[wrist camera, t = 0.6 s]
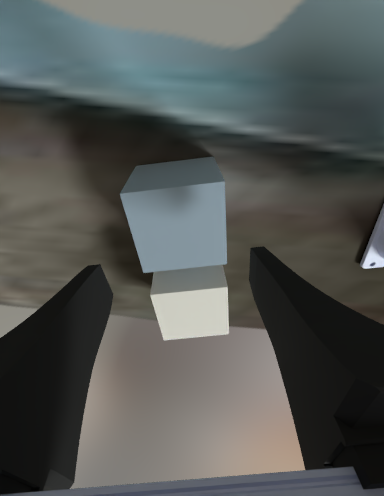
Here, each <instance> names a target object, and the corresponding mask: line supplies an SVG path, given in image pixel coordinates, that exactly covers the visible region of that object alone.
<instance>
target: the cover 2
mask: <svg viewBox="0 0 384 496" xmlns="http://www.w3.org/2000/svg"><path fill="white" fill-rule="evenodd" d="M150 296H151V299H152V302H153V306H154V309H155V312H156V316H157V319H158V322H159V326H160V329H161V332H162V336H163V339H164V340H172V339H183V338H192V337H204V336H214V335H224V334H229V321H228V287H227V282H226V278H225V274H224V269H223V265H213V266H204V267H195V268H185V269H176V270H166V271H157V272H154V274H153V280H152V287H151V293H150Z"/></svg>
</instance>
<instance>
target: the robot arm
mask: <svg viewBox="0 0 384 496" xmlns="http://www.w3.org/2000/svg"><path fill="white" fill-rule="evenodd" d="M360 266H361V267H362V268H364V269H366V268H376V267H384V205H383V207H382V210H381V212H380V215H379V217H378V220H377V222H376V225H375V227H374V230H373V232H372V235H371V237H370V240H369V242H368V245H367V247H366V250H365V252H364V255H363V258H362V260H361V263H360ZM249 281H250V285H251V289H252V293H253V297H254V300H255V302H256V305H257V307H258V310H259V312H260V315H261V317H262V320H263V322H264V325H265V327H266V330H267V332H268V335H269V337H270V340H271V342H272V345H273V348H274V351H275V354H276V357H277V361H278V364H279V368H280V371H281V375H282V379H283V382H284V386H285V389H286V393H287V397H288V401H289V404H290V408H291V412H292V416H293V419H294V424H295V428H296V432H297V436H298V440H299V444H300V448H301V453H302V457H303V461H304V466H305V470H303V471H291V472H278V473H265V474H253V475H241V476H229V477H228V476H227V477H215V478H202V479H190V480H177V481H166V482H152V483H140V484H127V485H114V486H102V487H89V488H77V489H70V487H71V486H72V484H73V483H74V479H75V470H76V462H77V454H78V447H79V439H80V433H81V426H82V420H83V414H84V409H85V403H86V398H87V393H88V388H89V383H90V379H91V374H92V369H93V365H94V362H95V358H96V355H97V352H98V349H99V345H100V343H101V340H102V337H103V334H104V330H105V327H106V324H107V321H108V318H109V315H110V310H111V305H112V299H113V293H112V291H111V288H110V286H109V284H108V281H107V279H106V277H105V274H104V272H103V270H102V267H101V265H100V264H99V265H90V266H87V267H86V268H84V269H83V270H82V271H81V272H80V273H79V274H78V275H76V276H75V277H74V278H73V279H72V280H71V281H70V282H69V283H68V284H67V285H66V286H64V287H63V288H62V289H61V290H60V291H59V292H58V293H57V294H56V295H55V296H53V297H52V298H51V299H50V300H49V301H48V302H46V303H45V304H44V305H43V306H42V307H41V308H39V309H38V310H37V311H36V312H35V313H34V314H32V315H31V316H30V317H28V318H27V319H26V320H25V321H23V322H22V323H21V324H19V325H18V326H17V327H15V328H14V329H13V330H11V331H10V332H8V333H7V334H6V335H4V336H3V337H1V338H0V496H384V325H383V324H380V323H378V322H376V321H374V320H372V319H370V318H368V317H366V316H364V315H362V314H360V313H358V312H356V311H354V310H352V309H350V308H349V307H347V306H345V305H343V304H341V303H340V302H338V301H336V300H334V299H333V298H331V297H330V296H328V295H326V294H325V293H323V292H321V291H320V290H318V289H317V288H315V287H314V286H312V285H311V284H310V283H308V282H307V281H305V280H304V279H303V278H301V277H300V276H299V275H297V274H296V273H295V272H293V271H292V270H291V269H290V268H288V267H287V266H286V265H285V264H284V263H282V262H281V261H280V260H279V259H278V258H277V257H275V256H274V255H273V254H272V253H271V252H270V251H268V250H267V249H266V248H265V247H255V248H251V252H250V273H249Z"/></svg>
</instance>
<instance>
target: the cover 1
mask: <svg viewBox="0 0 384 496" xmlns="http://www.w3.org/2000/svg"><path fill="white" fill-rule="evenodd" d="M120 196H121V200H122V203H123V206H124V210H125V213H126V216H127V220H128V223H129V226H130V230H131V233H132V236H133V240H134V243H135V246H136V249H137V253H138V256H139V259H140V263H141V266H142V269H143V273H148V272H157V271H166V270H176V269H185V268H195V267H204V266H213V265H223V264H227V246H226V209H225V181H224V179H223V176H222V174H221V172H220V170H219V168H218V165H217V163H216V161H215V159H214V157H205V158H196V159H188V160H180V161H172V162H163V163H155V164H147V165H139V166H136V167H135V168H134V170H133V172H132V174H131V175H130V177H129V179H128V180H127V182H126V184H125V186H124V187H123V189H122V191H121V192H120Z"/></svg>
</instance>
